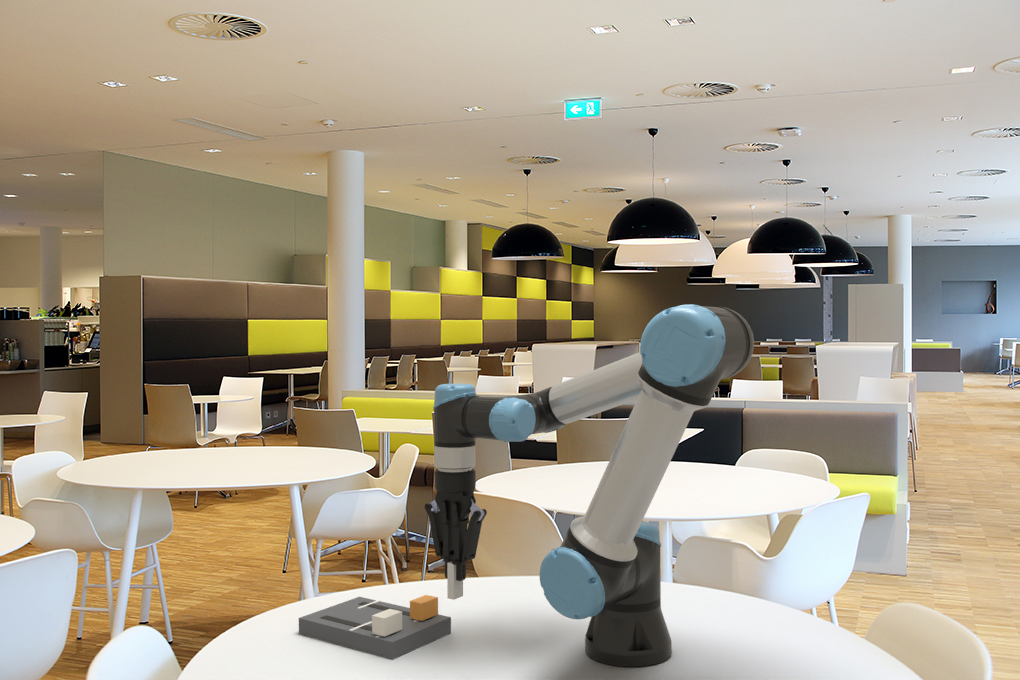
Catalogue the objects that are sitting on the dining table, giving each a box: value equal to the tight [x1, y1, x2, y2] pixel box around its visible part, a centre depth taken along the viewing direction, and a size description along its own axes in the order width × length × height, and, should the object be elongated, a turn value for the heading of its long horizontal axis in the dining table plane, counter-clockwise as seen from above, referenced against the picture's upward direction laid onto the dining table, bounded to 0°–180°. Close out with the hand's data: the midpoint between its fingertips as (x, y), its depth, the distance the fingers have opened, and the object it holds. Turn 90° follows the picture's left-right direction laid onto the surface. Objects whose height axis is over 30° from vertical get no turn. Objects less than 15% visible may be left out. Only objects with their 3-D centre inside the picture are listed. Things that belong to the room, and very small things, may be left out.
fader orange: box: [409, 594, 439, 621], centre depth 165 cm, size 3×5×3 cm, turn 145°
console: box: [298, 596, 452, 660], centre depth 165 cm, size 24×16×3 cm, turn 55°
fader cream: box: [372, 609, 402, 637], centre depth 156 cm, size 3×5×3 cm, turn 145°
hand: (455, 597), depth 160 cm, fingers closed
